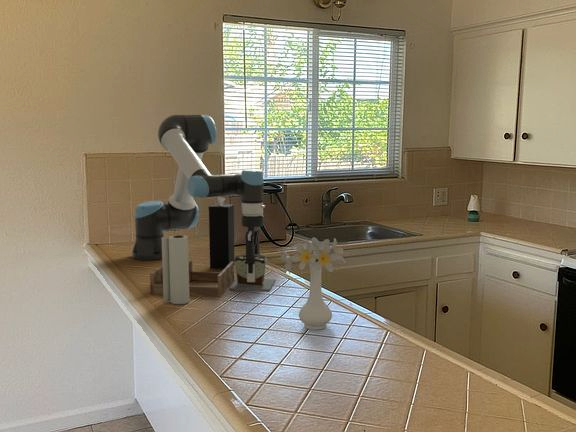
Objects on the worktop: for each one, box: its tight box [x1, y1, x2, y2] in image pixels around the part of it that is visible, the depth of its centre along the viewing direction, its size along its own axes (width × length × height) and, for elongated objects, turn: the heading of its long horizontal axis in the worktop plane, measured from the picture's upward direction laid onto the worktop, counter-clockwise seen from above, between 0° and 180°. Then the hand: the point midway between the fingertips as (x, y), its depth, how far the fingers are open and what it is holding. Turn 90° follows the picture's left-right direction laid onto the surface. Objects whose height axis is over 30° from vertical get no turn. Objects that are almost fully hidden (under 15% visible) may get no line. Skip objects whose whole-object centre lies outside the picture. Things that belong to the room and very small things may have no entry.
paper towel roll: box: [161, 234, 190, 305], centre depth 193 cm, size 7×6×21 cm
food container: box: [233, 253, 268, 287], centre depth 214 cm, size 12×6×10 cm, turn 71°
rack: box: [149, 259, 235, 297], centre depth 212 cm, size 21×24×7 cm
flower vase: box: [279, 236, 347, 331], centre depth 168 cm, size 13×18×25 cm
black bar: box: [208, 196, 236, 270], centre depth 239 cm, size 8×8×28 cm
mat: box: [228, 278, 277, 292], centre depth 214 cm, size 14×14×1 cm
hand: (253, 279), depth 214 cm, fingers closed on food container, 6 cm apart
